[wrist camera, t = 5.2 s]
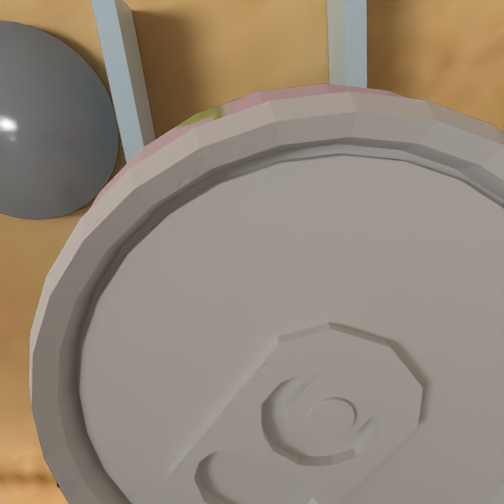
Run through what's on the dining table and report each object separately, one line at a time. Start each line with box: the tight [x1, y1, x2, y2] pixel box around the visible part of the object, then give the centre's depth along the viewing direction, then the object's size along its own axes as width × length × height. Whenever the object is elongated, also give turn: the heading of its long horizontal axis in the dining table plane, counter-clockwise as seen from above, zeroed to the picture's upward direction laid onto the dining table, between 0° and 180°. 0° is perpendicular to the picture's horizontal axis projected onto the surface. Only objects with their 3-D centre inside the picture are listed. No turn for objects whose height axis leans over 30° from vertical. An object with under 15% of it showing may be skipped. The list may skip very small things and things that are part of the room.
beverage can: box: [29, 83, 504, 504], centre depth 10 cm, size 6×6×15 cm
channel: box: [91, 0, 367, 163], centre depth 16 cm, size 10×16×2 cm, turn 6°
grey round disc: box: [0, 21, 120, 220], centre depth 16 cm, size 8×8×1 cm
